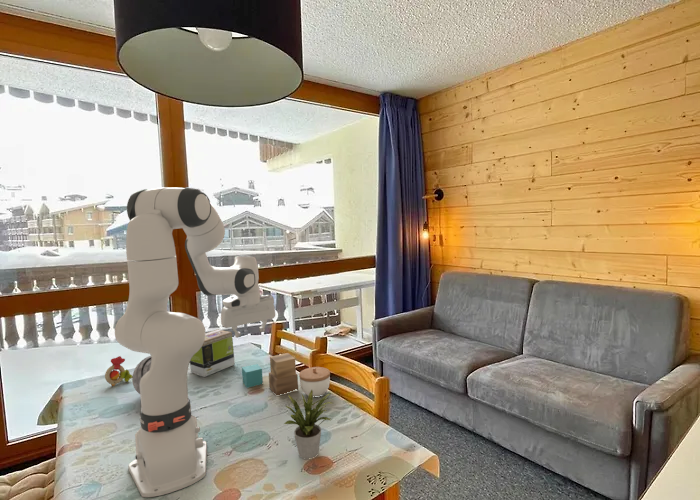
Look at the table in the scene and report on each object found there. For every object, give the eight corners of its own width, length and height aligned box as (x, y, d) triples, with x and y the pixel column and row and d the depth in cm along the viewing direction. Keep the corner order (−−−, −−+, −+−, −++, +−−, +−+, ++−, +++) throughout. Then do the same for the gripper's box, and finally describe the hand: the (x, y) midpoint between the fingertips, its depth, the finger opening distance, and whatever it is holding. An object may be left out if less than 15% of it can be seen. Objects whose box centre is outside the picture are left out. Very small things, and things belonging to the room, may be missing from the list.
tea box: (220, 361, 173) (218, 328, 172) (235, 365, 167) (233, 331, 166) (189, 372, 161) (187, 337, 160) (204, 377, 155) (201, 341, 154)
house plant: (344, 466, 97) (342, 402, 95) (288, 478, 93) (285, 412, 92) (331, 435, 110) (328, 379, 109) (281, 445, 106) (278, 387, 105)
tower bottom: (298, 390, 140) (297, 374, 140) (277, 396, 136) (276, 380, 136) (289, 383, 147) (289, 367, 147) (269, 388, 143) (268, 372, 143)
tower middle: (295, 374, 140) (295, 358, 140) (277, 379, 137) (276, 362, 136) (288, 368, 146) (288, 352, 146) (270, 372, 143) (269, 356, 142)
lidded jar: (314, 404, 130) (313, 376, 129) (293, 395, 137) (292, 369, 136) (337, 392, 138) (336, 367, 137) (316, 384, 145) (315, 360, 144)
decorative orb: (146, 409, 130) (142, 365, 129) (126, 398, 139) (122, 357, 137) (187, 392, 142) (184, 352, 140) (167, 383, 150) (164, 345, 149)
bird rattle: (119, 392, 149) (138, 374, 156) (105, 370, 144) (125, 353, 152) (109, 389, 152) (128, 372, 159) (94, 368, 147) (115, 352, 154)
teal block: (262, 384, 147) (262, 368, 147) (247, 388, 144) (246, 372, 144) (258, 378, 152) (257, 363, 152) (242, 382, 149) (241, 367, 149)
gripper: (269, 292, 154) (272, 326, 156) (218, 301, 142) (220, 338, 143) (277, 295, 149) (279, 330, 151) (224, 304, 137) (226, 342, 138)
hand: (250, 334), depth 147 cm, fingers open, 8 cm apart
